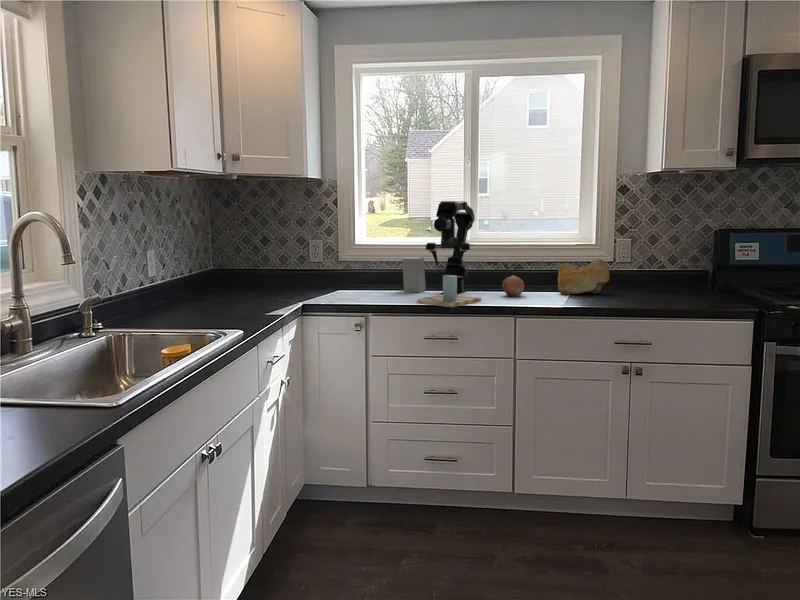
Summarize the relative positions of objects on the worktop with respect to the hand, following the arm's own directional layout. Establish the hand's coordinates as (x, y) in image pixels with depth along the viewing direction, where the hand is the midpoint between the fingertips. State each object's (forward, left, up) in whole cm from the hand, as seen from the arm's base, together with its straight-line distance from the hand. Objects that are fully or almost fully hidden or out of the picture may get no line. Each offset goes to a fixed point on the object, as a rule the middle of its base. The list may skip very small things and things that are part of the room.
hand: (447, 266), depth 290 cm
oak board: (+12, +10, -13) cm, 20 cm away
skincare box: (-1, -20, -13) cm, 24 cm away
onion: (-18, +22, -13) cm, 31 cm away
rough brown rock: (-45, +40, -13) cm, 62 cm away
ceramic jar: (+16, +13, -12) cm, 24 cm away
